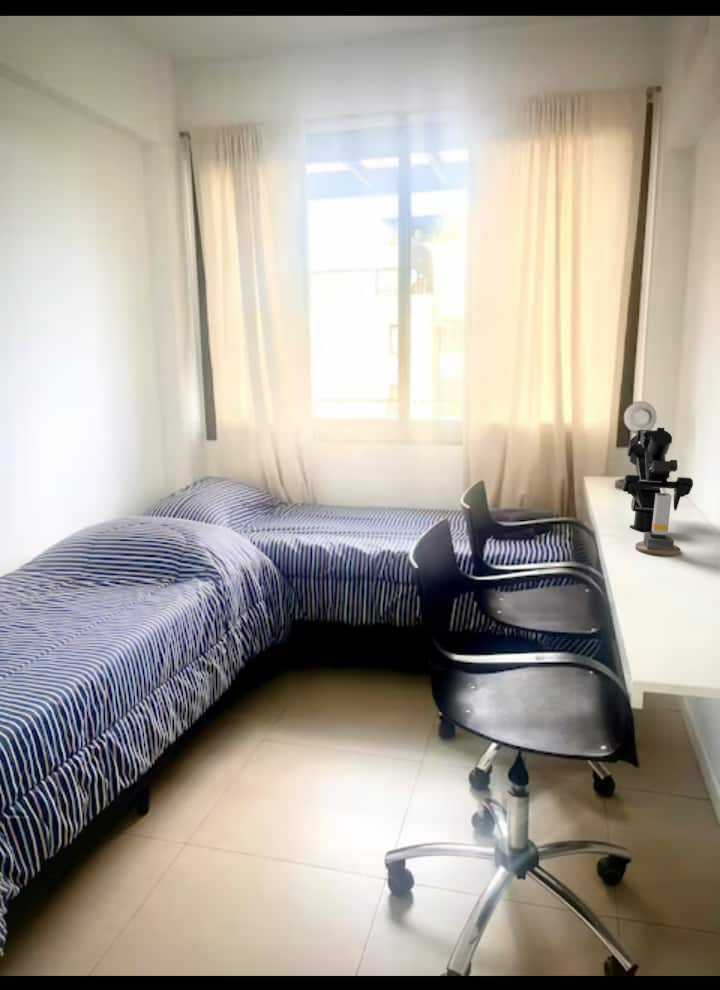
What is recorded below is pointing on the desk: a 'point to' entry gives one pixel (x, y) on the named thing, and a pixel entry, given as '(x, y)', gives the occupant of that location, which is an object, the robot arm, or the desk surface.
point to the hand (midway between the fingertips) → (658, 508)
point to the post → (661, 513)
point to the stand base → (658, 545)
